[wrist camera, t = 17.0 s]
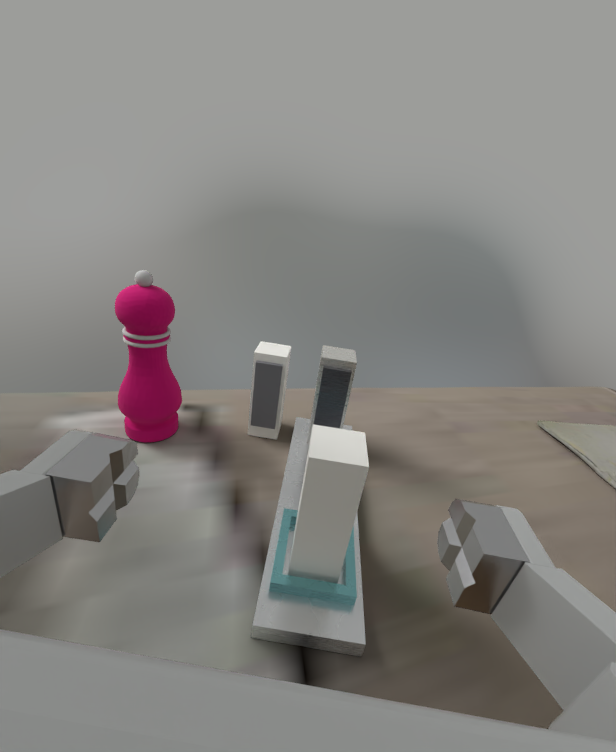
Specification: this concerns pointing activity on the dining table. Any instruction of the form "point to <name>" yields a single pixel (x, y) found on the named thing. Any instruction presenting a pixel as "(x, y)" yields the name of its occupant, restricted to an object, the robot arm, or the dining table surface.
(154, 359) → the pepper mill
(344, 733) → the robot arm
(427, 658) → the dining table surface
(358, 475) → the tall white upright block
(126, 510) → the dining table surface
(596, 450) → the decorative slab
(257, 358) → the block
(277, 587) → the rail
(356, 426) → the dining table surface
